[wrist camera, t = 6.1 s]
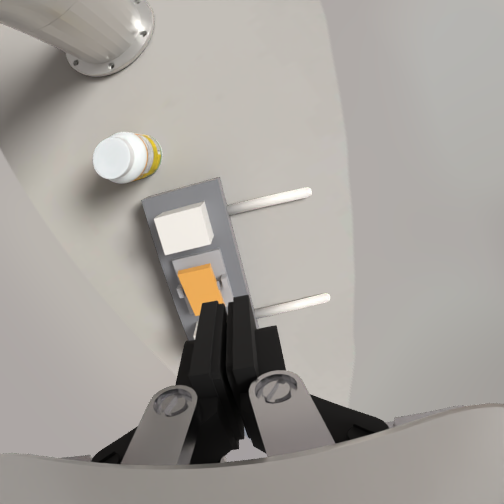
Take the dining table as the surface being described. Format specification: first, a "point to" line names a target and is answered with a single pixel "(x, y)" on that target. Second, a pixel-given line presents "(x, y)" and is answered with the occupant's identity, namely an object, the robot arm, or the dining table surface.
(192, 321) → the power strip
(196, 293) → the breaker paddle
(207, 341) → the robot arm
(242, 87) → the dining table surface
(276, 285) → the dining table surface
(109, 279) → the dining table surface
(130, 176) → the supplement bottle
